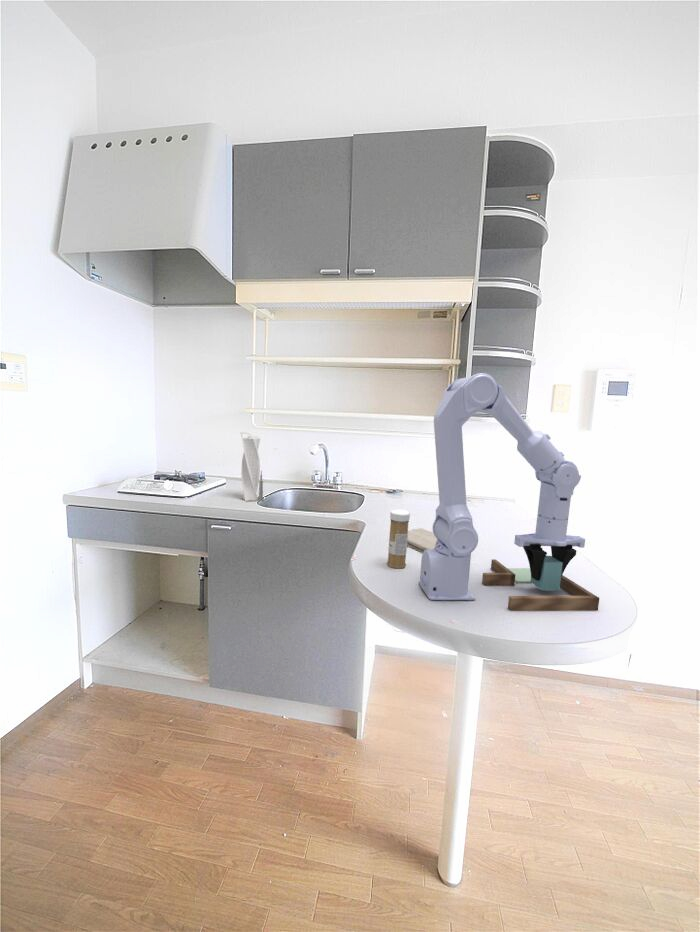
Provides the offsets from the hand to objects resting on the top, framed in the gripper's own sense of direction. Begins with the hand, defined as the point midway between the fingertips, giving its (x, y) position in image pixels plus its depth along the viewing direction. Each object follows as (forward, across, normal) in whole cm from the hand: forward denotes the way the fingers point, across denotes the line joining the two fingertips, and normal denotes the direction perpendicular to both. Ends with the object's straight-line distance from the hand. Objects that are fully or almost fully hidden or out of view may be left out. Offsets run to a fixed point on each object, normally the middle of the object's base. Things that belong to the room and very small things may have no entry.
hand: (545, 578), depth 80 cm
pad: (+3, 0, +8) cm, 9 cm away
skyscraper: (+3, -75, +84) cm, 112 cm away
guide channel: (+3, -3, +2) cm, 5 cm away
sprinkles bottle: (+3, -29, +14) cm, 32 cm away
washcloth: (+4, -17, +30) cm, 35 cm away
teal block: (+2, 0, 0) cm, 2 cm away
